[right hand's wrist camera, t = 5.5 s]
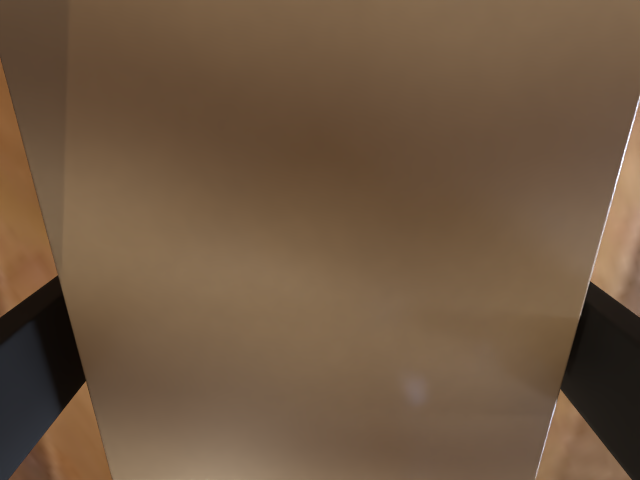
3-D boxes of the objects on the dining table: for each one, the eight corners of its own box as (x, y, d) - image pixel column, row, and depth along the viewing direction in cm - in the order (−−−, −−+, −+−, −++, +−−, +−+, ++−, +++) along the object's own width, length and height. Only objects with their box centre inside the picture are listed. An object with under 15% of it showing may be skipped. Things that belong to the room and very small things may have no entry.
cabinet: (144, -219, 12) (-268, -936, 4) (502, -220, 12) (929, -942, 4) (206, 302, 19) (111, 481, 10) (438, 302, 19) (536, 482, 10)
